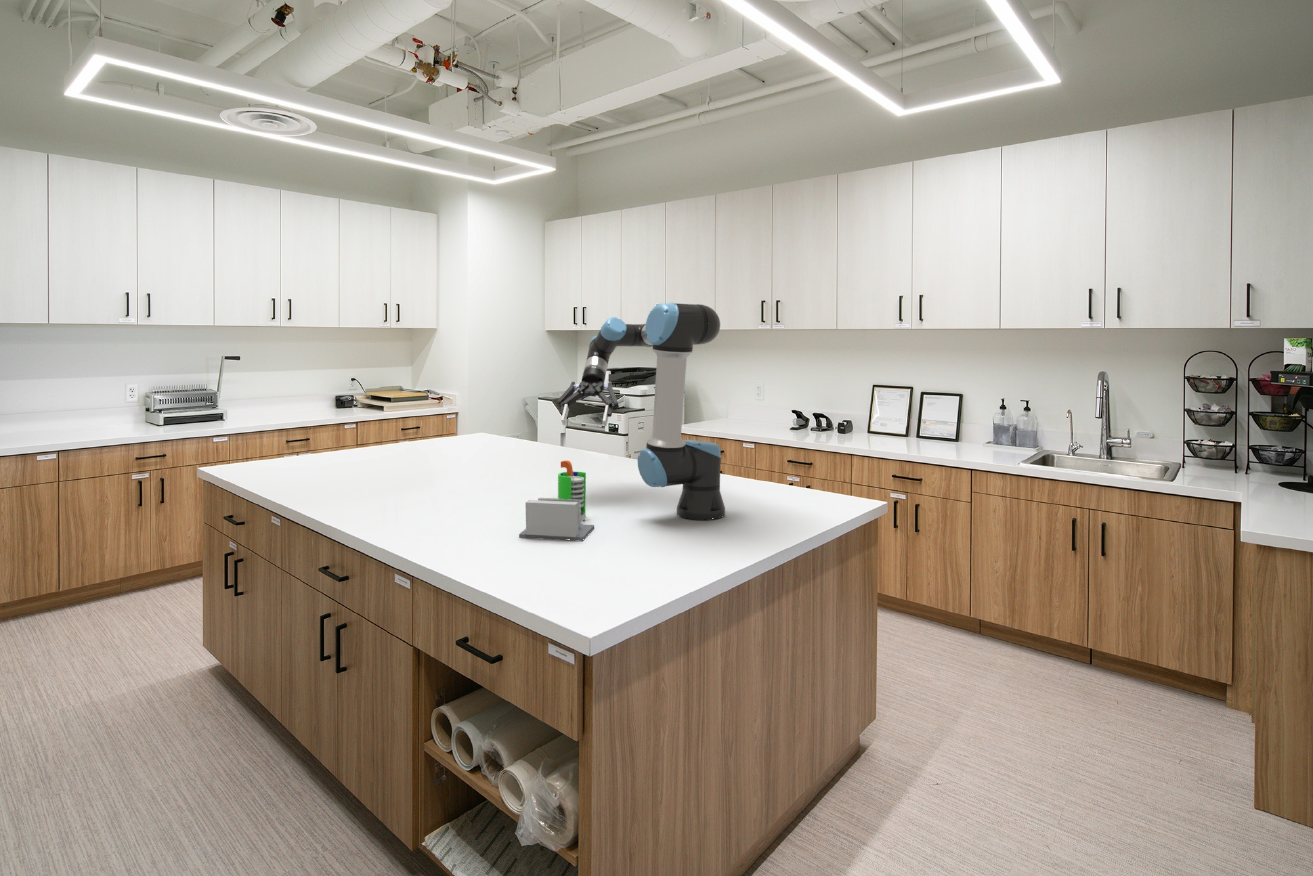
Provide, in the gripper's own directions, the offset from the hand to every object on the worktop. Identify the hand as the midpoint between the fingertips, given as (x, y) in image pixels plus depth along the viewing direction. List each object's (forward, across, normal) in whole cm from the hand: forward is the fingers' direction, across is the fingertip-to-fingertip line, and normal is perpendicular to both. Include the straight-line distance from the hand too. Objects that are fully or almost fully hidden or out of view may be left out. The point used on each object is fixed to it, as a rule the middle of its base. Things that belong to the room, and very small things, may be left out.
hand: (583, 423), depth 224 cm
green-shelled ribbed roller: (+31, 0, -9) cm, 32 cm away
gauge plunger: (+40, +1, +2) cm, 40 cm away
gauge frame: (+40, 0, +1) cm, 41 cm away
